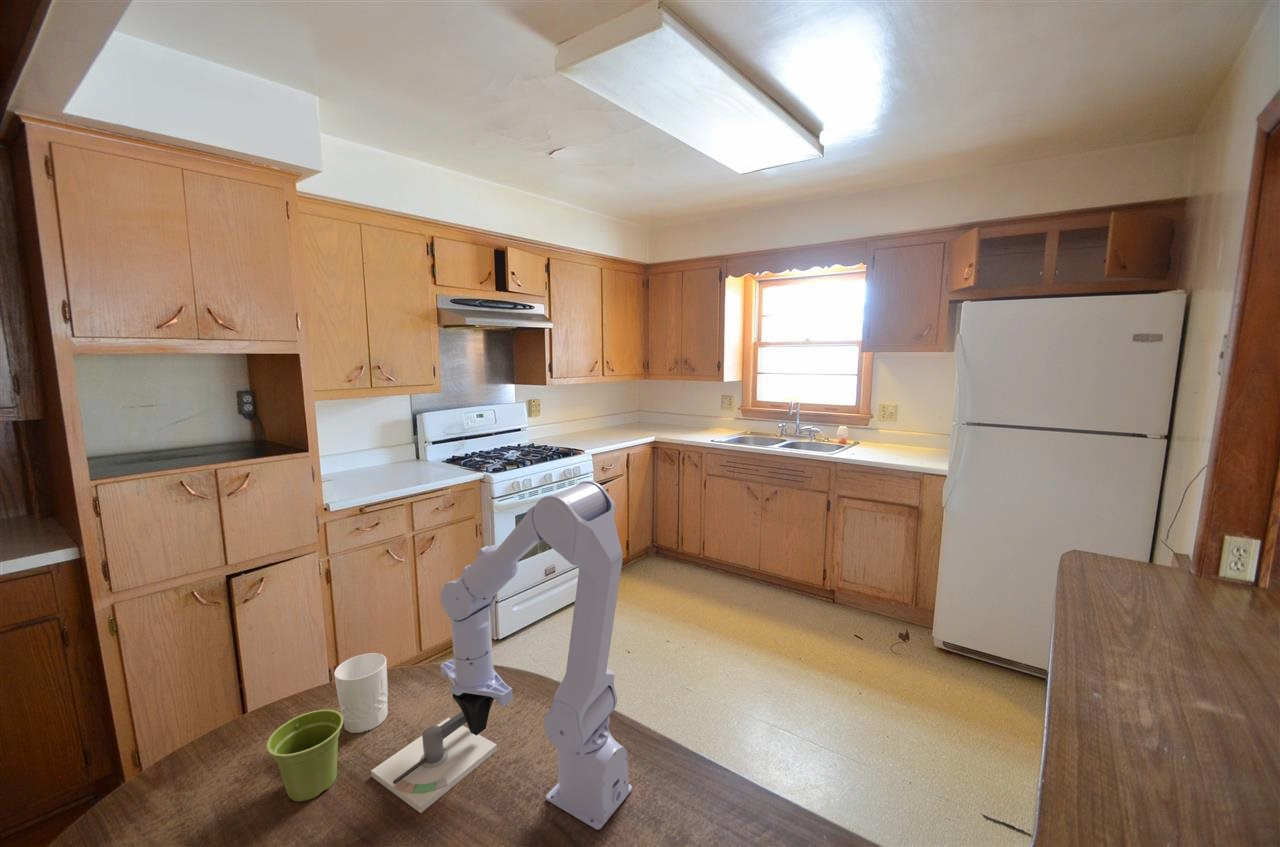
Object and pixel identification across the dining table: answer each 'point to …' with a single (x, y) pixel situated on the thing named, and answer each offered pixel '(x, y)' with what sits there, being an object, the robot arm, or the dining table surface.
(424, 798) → the board
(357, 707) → the white cup
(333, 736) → the plant pot
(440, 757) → the grey dial pointer
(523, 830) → the dining table surface
